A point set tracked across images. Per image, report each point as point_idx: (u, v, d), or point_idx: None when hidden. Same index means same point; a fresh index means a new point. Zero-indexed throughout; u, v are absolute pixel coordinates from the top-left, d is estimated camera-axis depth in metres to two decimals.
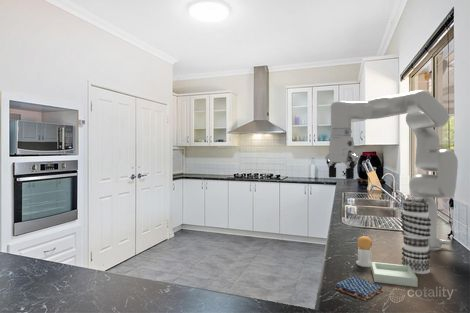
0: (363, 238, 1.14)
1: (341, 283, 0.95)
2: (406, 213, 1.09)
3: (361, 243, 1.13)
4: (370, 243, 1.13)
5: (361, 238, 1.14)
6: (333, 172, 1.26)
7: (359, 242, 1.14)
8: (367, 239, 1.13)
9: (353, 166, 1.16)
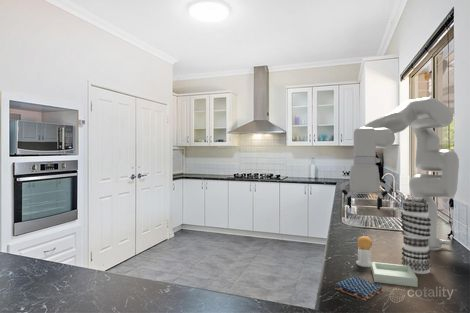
0: (363, 238, 1.14)
1: (341, 283, 0.95)
2: (406, 213, 1.09)
3: (361, 243, 1.13)
4: (370, 243, 1.13)
5: (361, 238, 1.14)
6: None
7: (359, 242, 1.14)
8: (367, 239, 1.13)
9: (383, 196, 1.13)
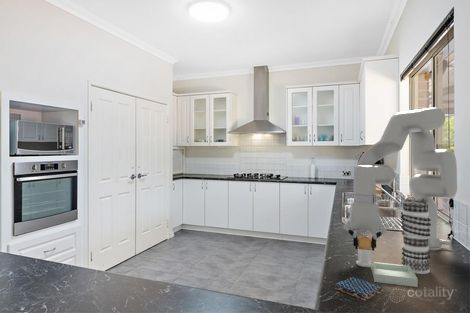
0: (363, 238, 1.14)
1: (341, 283, 0.95)
2: (406, 213, 1.09)
3: (361, 243, 1.13)
4: (370, 243, 1.13)
5: (361, 238, 1.14)
6: None
7: (359, 242, 1.14)
8: (367, 239, 1.13)
9: None
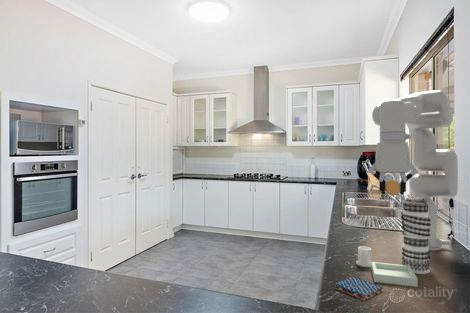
0: (391, 181, 1.02)
1: (341, 283, 0.95)
2: (406, 213, 1.09)
3: (389, 187, 1.01)
4: (399, 186, 1.01)
5: (389, 182, 1.02)
6: None
7: (386, 186, 1.02)
8: (396, 182, 1.01)
9: (407, 179, 1.02)
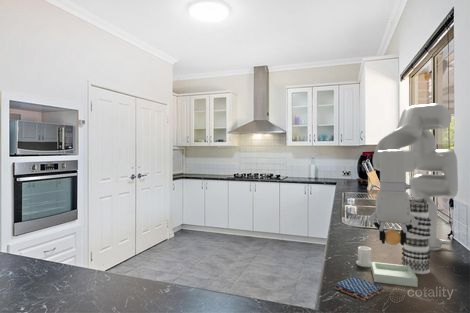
0: (391, 231, 1.01)
1: (341, 283, 0.95)
2: None
3: (389, 237, 1.01)
4: (399, 237, 1.01)
5: (389, 231, 1.02)
6: None
7: (387, 236, 1.02)
8: (396, 232, 1.01)
9: None
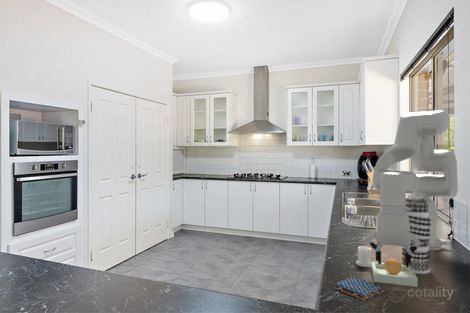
0: (391, 261, 1.02)
1: (341, 283, 0.95)
2: (406, 213, 1.09)
3: (389, 267, 1.01)
4: (400, 267, 1.01)
5: (389, 261, 1.02)
6: None
7: (387, 266, 1.02)
8: (396, 262, 1.01)
9: None
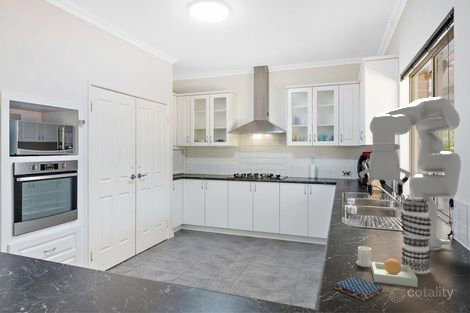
0: (391, 261, 1.02)
1: (341, 283, 0.95)
2: (406, 213, 1.09)
3: (389, 267, 1.01)
4: (399, 267, 1.01)
5: (389, 261, 1.02)
6: None
7: (387, 266, 1.02)
8: (396, 262, 1.01)
9: None
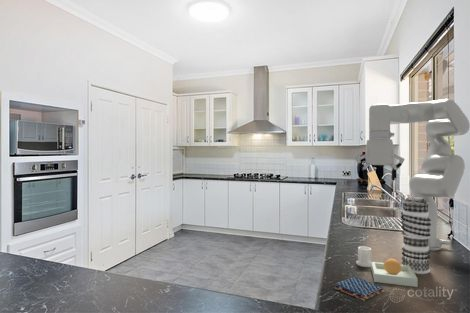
0: (391, 261, 1.02)
1: (341, 283, 0.95)
2: (406, 213, 1.09)
3: (389, 268, 1.01)
4: (399, 267, 1.01)
5: (388, 261, 1.02)
6: None
7: (386, 266, 1.02)
8: (395, 262, 1.01)
9: (397, 168, 1.21)
